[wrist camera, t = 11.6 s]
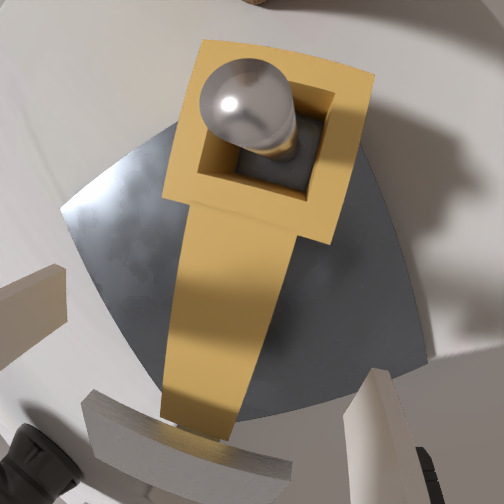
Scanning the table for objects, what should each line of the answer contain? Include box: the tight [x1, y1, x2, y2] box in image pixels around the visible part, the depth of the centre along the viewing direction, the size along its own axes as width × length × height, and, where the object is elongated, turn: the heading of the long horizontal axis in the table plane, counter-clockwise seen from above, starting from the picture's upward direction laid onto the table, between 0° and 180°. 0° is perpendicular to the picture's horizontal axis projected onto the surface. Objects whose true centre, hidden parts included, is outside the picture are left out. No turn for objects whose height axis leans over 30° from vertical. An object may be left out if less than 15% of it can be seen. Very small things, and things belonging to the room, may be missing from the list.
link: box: [160, 40, 375, 441], centre depth 14 cm, size 18×6×6 cm, turn 165°
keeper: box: [81, 389, 293, 504], centre depth 16 cm, size 8×10×10 cm
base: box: [60, 58, 428, 422], centre depth 13 cm, size 20×21×11 cm
